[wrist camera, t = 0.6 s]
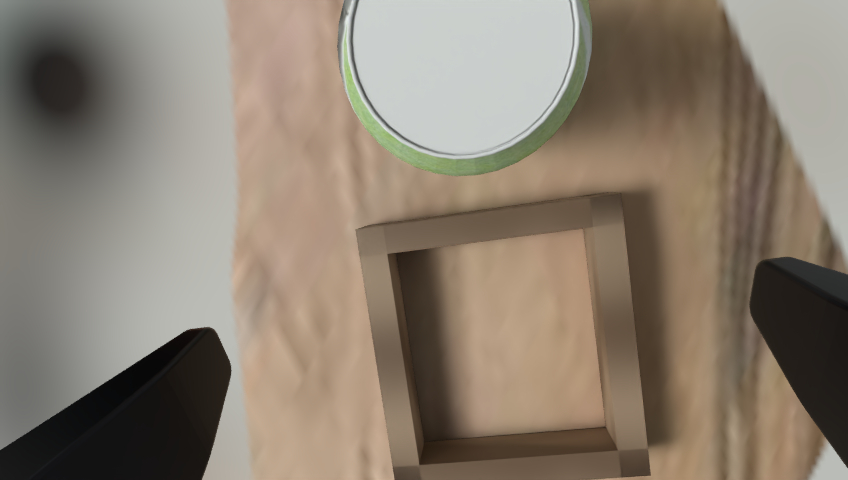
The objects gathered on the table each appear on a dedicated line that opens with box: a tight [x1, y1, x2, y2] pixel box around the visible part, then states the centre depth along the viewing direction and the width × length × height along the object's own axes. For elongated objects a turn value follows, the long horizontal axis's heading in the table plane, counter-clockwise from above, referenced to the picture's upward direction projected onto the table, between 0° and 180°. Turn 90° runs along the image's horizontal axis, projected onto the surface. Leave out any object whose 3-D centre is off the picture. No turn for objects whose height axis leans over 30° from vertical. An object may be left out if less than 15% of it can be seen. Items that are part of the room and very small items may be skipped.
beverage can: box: [337, 0, 592, 176], centre depth 16 cm, size 6×7×12 cm
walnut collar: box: [356, 193, 651, 480], centre depth 22 cm, size 12×11×2 cm
